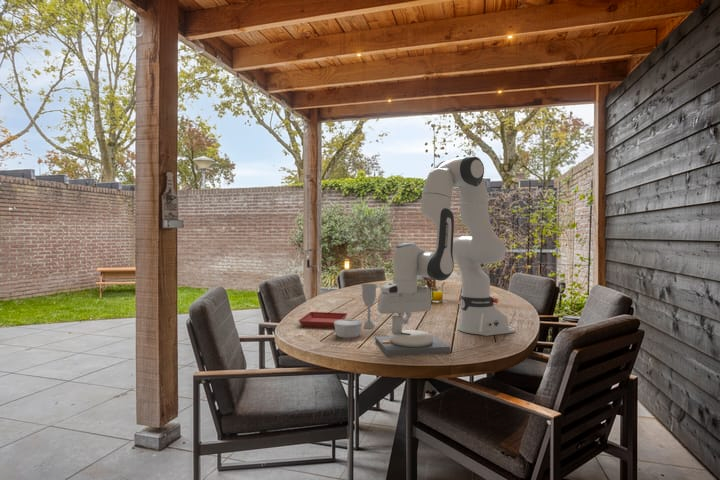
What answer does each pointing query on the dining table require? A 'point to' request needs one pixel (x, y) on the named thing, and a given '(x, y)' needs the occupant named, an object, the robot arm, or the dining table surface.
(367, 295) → the chalice
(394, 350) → the dial board
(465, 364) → the dining table surface
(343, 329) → the ramekin
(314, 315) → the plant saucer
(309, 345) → the dining table surface
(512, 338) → the dining table surface
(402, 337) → the dial
